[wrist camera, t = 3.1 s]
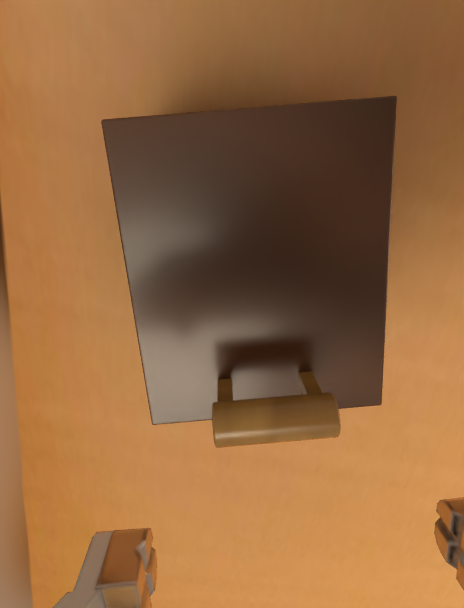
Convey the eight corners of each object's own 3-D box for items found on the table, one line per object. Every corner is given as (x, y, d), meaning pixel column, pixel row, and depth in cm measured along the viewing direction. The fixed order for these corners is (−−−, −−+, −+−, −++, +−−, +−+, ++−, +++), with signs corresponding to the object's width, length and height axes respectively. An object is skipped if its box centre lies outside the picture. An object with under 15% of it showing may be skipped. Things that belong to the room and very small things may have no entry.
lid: (375, 397, 20) (423, 462, 15) (154, 416, 20) (134, 487, 15) (389, 99, 16) (461, 63, 11) (106, 122, 16) (57, 96, 11)
